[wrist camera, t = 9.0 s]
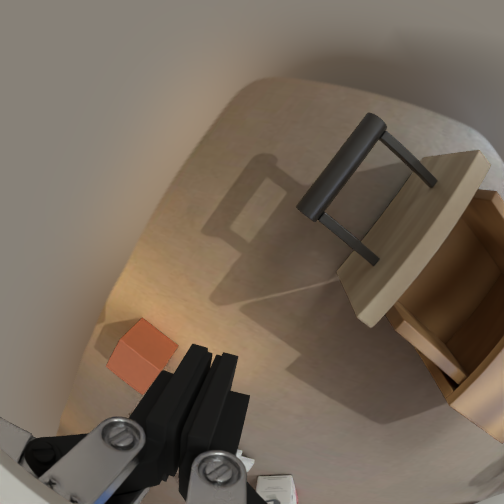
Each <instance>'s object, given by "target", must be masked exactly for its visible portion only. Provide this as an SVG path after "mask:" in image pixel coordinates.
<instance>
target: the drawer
mask: <svg viewBox="0 0 504 504" xmlns="http://www.w3.org/2000/svg"><path fill="white" fill-rule="evenodd" d="M386 129H387V126H386V124H385V123H384V121H383V120H382V119H380V118H379V117H378V116H376V115H375V114H372V113H367V114H366V116H365V117H364V118H363V120H362V121H361V122H360V123H359V125H358V126H357V127H356V129H355V130H354V131H353V133H352V134H351V135H350V137H349V138H348V139H347V141H346V142H345V143H344V144H343V146H342V147H341V148H340V150H339V151H338V152H337V154H336V155H335V156H334V158H333V159H332V160H331V162H330V163H329V164H328V165H327V167H326V168H325V169H324V171H323V172H322V173H321V175H320V176H319V177H318V178H317V180H316V181H315V182H314V184H313V185H312V186H311V188H310V189H309V190H308V191H307V193H306V194H305V195H304V197H303V198H302V199H301V201H300V202H299V203H298V204H297V206H296V208H297V209H298V210H299V211H300V212H302V213H303V214H304V215H305V216H307V217H308V218H309V219H311V220H312V221H313V222H316V221H317V220H319V222H321V223H322V224H323V225H324V226H326V227H327V228H328V229H329V230H331V231H332V232H333V233H334V234H336V235H337V236H338V237H339V238H340V239H342V240H343V241H344V242H345V243H346V244H348V245H349V246H350V247H351V248H352V249H354V251H353V252H352V253H351V255H350V256H349V257H348V258H347V259H346V261H345V262H344V263H343V264H342V265H341V267H340V268H339V269H338V270H337V275H338V277H339V279H340V281H341V283H342V285H343V288H344V290H345V292H346V294H347V296H348V299H349V301H350V303H351V305H352V308H353V310H354V312H355V314H356V317H357V318H358V319H359V320H360V321H362V322H363V323H364V324H366V325H367V326H368V327H369V328H373V327H374V326H375V324H376V323H377V322H378V321H379V320H380V319H381V318H382V317H383V316H384V315H386V317H387V318H388V320H389V322H390V323H391V325H392V326H393V328H394V330H395V331H396V332H397V333H399V334H400V335H401V336H402V337H403V338H405V339H406V340H407V341H408V342H409V343H411V344H412V345H413V346H414V347H415V348H417V349H418V350H419V351H420V352H421V353H423V354H424V355H425V356H426V357H427V358H428V359H430V360H431V361H432V362H433V363H434V364H435V365H437V366H438V367H439V368H440V369H441V370H442V371H444V372H445V373H446V374H447V375H448V376H449V377H451V378H452V379H453V380H454V381H455V382H456V383H457V384H459V385H461V384H462V383H463V382H464V381H465V380H466V379H467V378H468V377H469V376H470V374H471V373H472V372H473V371H474V370H475V369H476V368H477V367H478V366H479V365H480V364H481V362H482V361H483V360H484V359H485V358H486V357H487V356H488V354H489V353H490V352H491V351H492V350H493V348H494V347H495V346H496V345H497V343H498V342H499V341H500V340H501V338H502V337H503V336H504V201H503V200H502V198H501V197H500V195H499V194H498V192H497V191H491V190H481V189H478V188H479V186H480V184H481V183H482V181H483V179H484V177H485V176H486V174H487V172H488V170H489V168H490V166H491V164H490V163H489V161H488V160H487V159H486V158H485V156H484V155H483V154H482V152H481V151H480V150H474V151H466V152H458V153H451V154H444V155H437V156H430V157H424V158H422V160H421V161H418V160H417V159H416V158H415V157H414V156H413V155H412V154H411V153H410V152H409V151H408V150H407V149H406V148H405V147H404V146H403V145H402V144H401V143H400V142H399V141H397V140H396V139H395V138H394V137H393V136H392V135H391V134H390V133H388V132H387V131H385V130H386ZM378 140H380V141H381V142H382V143H383V144H384V145H386V146H387V147H388V148H389V149H390V150H391V151H392V152H393V153H395V154H396V155H397V156H398V157H399V158H400V159H401V160H402V161H403V162H404V163H405V164H406V165H407V166H408V167H409V168H410V169H411V170H412V171H413V173H412V174H411V176H410V177H409V178H408V180H407V181H406V183H405V184H404V186H403V187H402V188H401V190H400V191H399V192H398V194H397V195H396V197H395V198H394V199H393V201H392V202H391V203H390V205H389V206H388V207H387V209H386V210H385V211H384V213H383V214H382V215H381V217H380V218H379V219H378V221H377V222H376V223H375V224H374V226H373V227H372V228H371V230H370V231H369V232H368V233H367V235H366V236H365V237H364V238H363V240H362V241H359V240H358V239H357V238H356V237H355V236H353V235H352V234H351V233H350V232H349V231H348V230H346V229H345V228H344V227H343V226H342V225H340V224H339V223H338V222H337V221H335V220H334V219H333V218H332V217H331V216H329V215H328V214H327V213H326V212H324V211H325V210H326V208H327V207H328V206H329V205H330V203H331V202H332V201H333V199H334V198H335V197H336V196H337V194H338V193H339V192H340V190H341V189H342V188H343V186H344V185H345V184H346V183H347V181H348V180H349V179H350V177H351V176H352V175H353V173H354V172H355V171H356V169H357V168H358V167H359V165H360V164H361V163H362V161H363V160H364V159H365V157H366V156H367V155H368V153H369V152H370V151H371V149H372V148H373V147H374V145H375V144H376V143H377V141H378Z"/></svg>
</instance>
